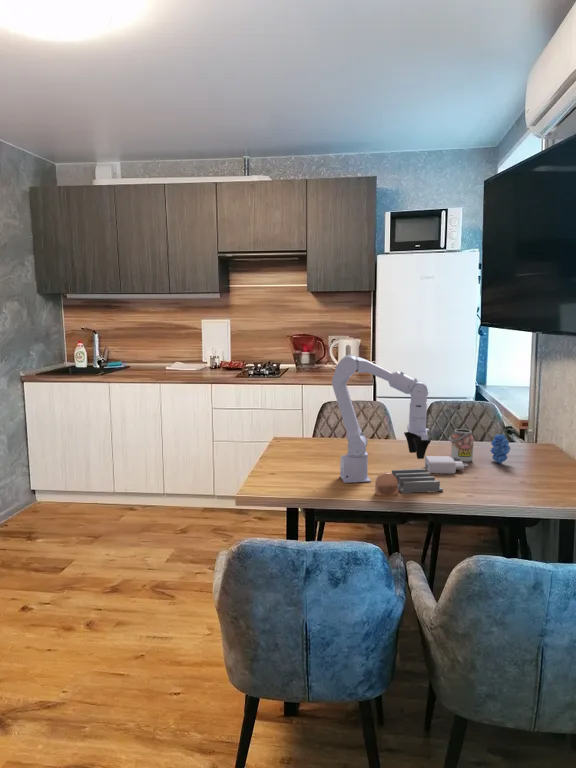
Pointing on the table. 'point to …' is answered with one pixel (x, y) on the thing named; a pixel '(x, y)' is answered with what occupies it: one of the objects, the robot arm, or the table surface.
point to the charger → (442, 464)
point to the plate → (386, 484)
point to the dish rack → (416, 481)
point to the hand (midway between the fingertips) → (416, 455)
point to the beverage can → (462, 445)
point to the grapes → (500, 448)
